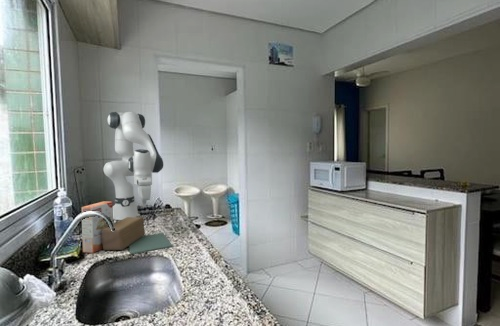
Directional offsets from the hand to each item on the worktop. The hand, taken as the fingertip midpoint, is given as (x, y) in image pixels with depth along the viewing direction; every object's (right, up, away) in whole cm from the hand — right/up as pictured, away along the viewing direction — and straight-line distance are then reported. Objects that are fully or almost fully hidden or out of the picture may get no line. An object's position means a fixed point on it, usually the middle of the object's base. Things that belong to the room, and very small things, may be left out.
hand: (143, 205), depth 140 cm
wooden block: (-4, -10, -1) cm, 11 cm away
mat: (+7, -17, -10) cm, 21 cm away
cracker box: (-15, -17, -16) cm, 28 cm away
